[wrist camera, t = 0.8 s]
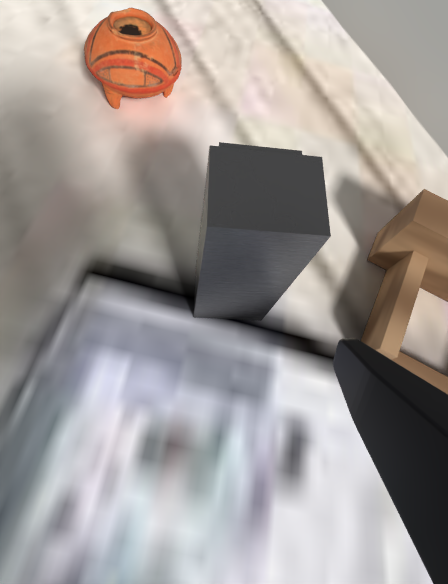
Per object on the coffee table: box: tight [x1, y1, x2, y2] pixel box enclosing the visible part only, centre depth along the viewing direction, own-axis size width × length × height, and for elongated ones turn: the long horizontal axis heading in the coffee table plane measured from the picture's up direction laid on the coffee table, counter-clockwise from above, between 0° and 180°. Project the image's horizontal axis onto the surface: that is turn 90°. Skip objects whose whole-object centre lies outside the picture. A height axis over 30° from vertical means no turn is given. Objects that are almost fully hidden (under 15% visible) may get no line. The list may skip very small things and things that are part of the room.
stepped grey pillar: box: [194, 142, 331, 320], centre depth 20 cm, size 5×5×12 cm
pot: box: [84, 8, 181, 109], centre depth 29 cm, size 8×8×7 cm
